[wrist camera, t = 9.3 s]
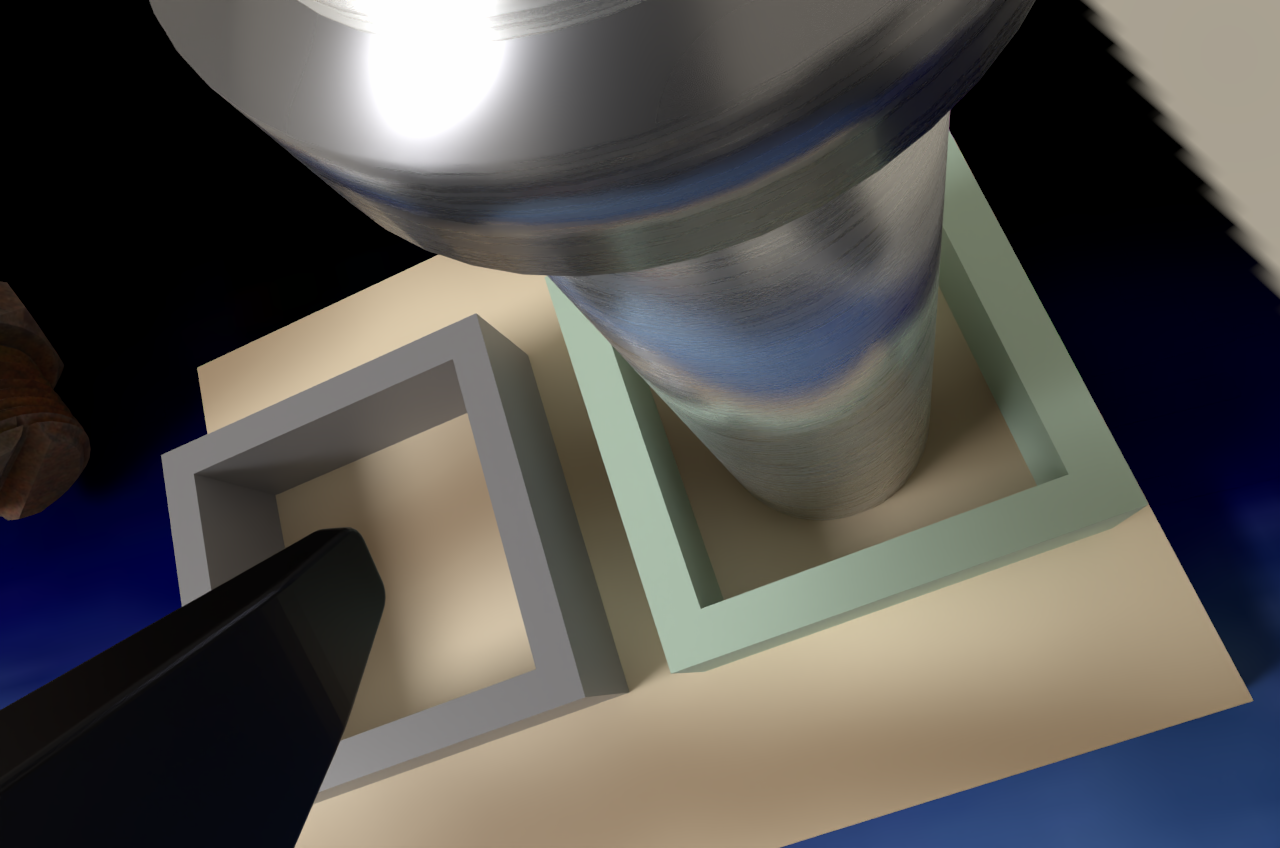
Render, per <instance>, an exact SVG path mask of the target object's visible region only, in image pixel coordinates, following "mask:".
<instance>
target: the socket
mask: <svg viewBox="0 0 1280 848" xmlns="http://www.w3.org/2000/svg"><path fill="white" fill-rule="evenodd" d="M545 280H546V284H547V287H548V290H549V293H550V296H551V299H552V302H553V305H554V309H555V312H556V315H557V318H558V321H559V324H560V327H561V331H562V334H563V337H564V340H565V343H566V346H567V349H568V352H569V356H570V359H571V362H572V365H573V368H574V371H575V374H576V378H577V381H578V384H579V387H580V390H581V393H582V396H583V399H584V403H585V406H586V409H587V412H588V415H589V418H590V421H591V425H592V428H593V431H594V434H595V437H596V440H597V443H598V446H599V450H600V453H601V456H602V459H603V462H604V465H605V468H606V472H607V475H608V478H609V481H610V484H611V487H612V490H613V493H614V497H615V500H616V503H617V506H618V509H619V512H620V515H621V519H622V522H623V525H624V528H625V531H626V534H627V537H628V540H629V544H630V547H631V550H632V553H633V556H634V559H635V562H636V566H637V569H638V572H639V575H640V578H641V581H642V584H643V588H644V591H645V594H646V597H647V600H648V603H649V606H650V609H651V613H652V616H653V619H654V622H655V625H656V628H657V631H658V635H659V638H660V641H661V644H662V647H663V650H664V653H665V656H666V660H667V663H668V666H669V669H670V672H671V674H673V673H694V672H706V671H709V670H711V669H714V668H717V667H720V666H723V665H726V664H728V663H731V662H734V661H737V660H740V659H743V658H745V657H748V656H751V655H754V654H757V653H760V652H762V651H765V650H768V649H771V648H774V647H777V646H779V645H782V644H785V643H788V642H791V641H794V640H797V639H799V638H802V637H805V636H808V635H811V634H814V633H816V632H819V631H822V630H825V629H828V628H831V627H833V626H836V625H839V624H842V623H845V622H848V621H850V620H853V619H856V618H859V617H862V616H865V615H868V614H870V613H873V612H876V611H879V610H882V609H885V608H887V607H890V606H893V605H896V604H899V603H902V602H904V601H907V600H910V599H913V598H916V597H919V596H921V595H924V594H927V593H930V592H933V591H936V590H938V589H941V588H944V587H947V586H950V585H953V584H956V583H958V582H961V581H964V580H967V579H970V578H973V577H975V576H978V575H981V574H984V573H987V572H990V571H992V570H995V569H998V568H1001V567H1004V566H1007V565H1009V564H1012V563H1015V562H1018V561H1021V560H1024V559H1026V558H1029V557H1032V556H1035V555H1038V554H1041V553H1044V552H1046V551H1049V550H1052V549H1055V548H1058V547H1061V546H1063V545H1066V544H1069V543H1072V542H1075V541H1078V540H1080V539H1083V538H1086V537H1089V536H1092V535H1095V534H1097V533H1100V532H1103V531H1106V530H1109V529H1112V528H1114V527H1115V526H1117V525H1118V524H1120V523H1121V522H1123V521H1124V520H1126V519H1127V518H1129V517H1130V516H1132V515H1133V514H1135V513H1136V512H1138V511H1139V510H1141V509H1142V508H1144V507H1145V506H1147V505H1148V502H1147V500H1146V498H1145V496H1144V494H1143V492H1142V491H1141V489H1140V487H1139V485H1138V483H1137V481H1136V479H1135V477H1134V476H1133V474H1132V472H1131V470H1130V468H1129V466H1128V464H1127V462H1126V461H1125V459H1124V457H1123V455H1122V453H1121V451H1120V449H1119V447H1118V446H1117V444H1116V442H1115V440H1114V438H1113V436H1112V434H1111V432H1110V431H1109V429H1108V427H1107V425H1106V423H1105V421H1104V419H1103V418H1102V416H1101V414H1100V412H1099V410H1098V408H1097V406H1096V404H1095V403H1094V401H1093V399H1092V397H1091V395H1090V393H1089V391H1088V389H1087V388H1086V386H1085V384H1084V382H1083V380H1082V378H1081V376H1080V374H1079V373H1078V371H1077V369H1076V367H1075V365H1074V363H1073V361H1072V359H1071V358H1070V356H1069V354H1068V352H1067V350H1066V348H1065V346H1064V344H1063V343H1062V341H1061V339H1060V337H1059V335H1058V333H1057V331H1056V329H1055V328H1054V326H1053V324H1052V322H1051V320H1050V318H1049V316H1048V314H1047V313H1046V311H1045V309H1044V307H1043V305H1042V303H1041V301H1040V300H1039V298H1038V296H1037V294H1036V292H1035V290H1034V288H1033V286H1032V285H1031V283H1030V281H1029V279H1028V277H1027V275H1026V273H1025V271H1024V270H1023V268H1022V266H1021V264H1020V262H1019V260H1018V258H1017V256H1016V255H1015V253H1014V251H1013V249H1012V247H1011V245H1010V243H1009V241H1008V240H1007V238H1006V236H1005V234H1004V232H1003V230H1002V228H1001V226H1000V225H999V223H998V221H997V219H996V217H995V215H994V213H993V211H992V210H991V208H990V206H989V204H988V202H987V200H986V198H985V196H984V195H983V193H982V191H981V189H980V187H979V185H978V183H977V182H976V180H975V178H974V176H973V174H972V172H971V170H970V168H969V167H968V165H967V163H966V161H965V159H964V157H963V155H962V153H961V152H960V150H959V148H958V146H957V144H956V142H955V140H954V138H953V137H952V135H951V133H950V131H949V136H948V151H947V166H946V181H945V196H944V211H943V226H942V241H941V256H940V271H939V287H940V289H941V291H942V293H943V295H944V297H945V300H946V302H947V304H948V306H949V308H950V310H951V312H952V314H953V316H954V318H955V320H956V322H957V324H958V326H959V328H960V330H961V332H962V334H963V336H964V338H965V340H966V342H967V344H968V346H969V348H970V350H971V352H972V354H973V356H974V358H975V360H976V362H977V364H978V367H979V369H980V371H981V373H982V375H983V377H984V379H985V381H986V383H987V385H988V387H989V389H990V391H991V393H992V395H993V397H994V399H995V401H996V403H997V405H998V407H999V409H1000V411H1001V413H1002V415H1003V417H1004V419H1005V421H1006V423H1007V425H1008V427H1009V429H1010V431H1011V434H1012V436H1013V438H1014V440H1015V442H1016V444H1017V446H1018V448H1019V450H1020V452H1021V454H1022V456H1023V458H1024V460H1025V462H1026V464H1027V466H1028V468H1029V470H1030V472H1031V474H1032V476H1033V478H1034V480H1035V482H1036V484H1037V486H1035V487H1032V488H1030V489H1027V490H1024V491H1021V492H1019V493H1016V494H1013V495H1011V496H1008V497H1005V498H1002V499H1000V500H997V501H994V502H991V503H989V504H986V505H983V506H980V507H978V508H975V509H972V510H970V511H967V512H964V513H961V514H959V515H956V516H953V517H950V518H948V519H945V520H942V521H939V522H937V523H934V524H931V525H929V526H926V527H923V528H920V529H918V530H915V531H912V532H909V533H907V534H904V535H901V536H898V537H896V538H893V539H890V540H888V541H885V542H882V543H879V544H877V545H874V546H871V547H868V548H866V549H863V550H860V551H858V552H855V553H852V554H849V555H847V556H844V557H841V558H838V559H836V560H833V561H830V562H827V563H825V564H822V565H819V566H817V567H814V568H811V569H808V570H806V571H803V572H800V573H797V574H795V575H792V576H789V577H786V578H784V579H781V580H778V581H776V582H773V583H770V584H767V585H765V586H762V587H759V588H756V589H754V590H751V591H748V592H745V593H743V594H740V595H737V596H735V597H732V598H729V599H726V600H724V599H723V596H722V593H721V590H720V587H719V585H718V582H717V579H716V576H715V573H714V570H713V567H712V565H711V562H710V559H709V556H708V553H707V550H706V547H705V544H704V542H703V539H702V536H701V533H700V530H699V527H698V524H697V522H696V519H695V516H694V513H693V510H692V507H691V504H690V501H689V499H688V496H687V493H686V490H685V487H684V484H683V481H682V479H681V476H680V473H679V470H678V467H677V464H676V461H675V458H674V456H673V453H672V450H671V447H670V444H669V441H668V438H667V436H666V433H665V430H664V427H663V424H662V421H661V418H660V415H659V413H658V410H657V407H656V404H655V401H654V398H653V395H652V393H651V390H650V387H649V385H648V383H647V382H646V381H645V380H644V379H643V378H642V377H641V376H640V375H639V374H638V373H637V372H636V371H635V370H634V368H633V367H632V366H631V365H630V364H629V363H628V362H627V361H626V360H625V359H624V358H623V357H622V356H621V354H620V353H619V352H618V351H617V350H616V349H615V348H614V347H613V346H612V345H611V344H610V343H609V342H608V341H607V339H606V338H605V337H604V336H603V335H602V334H601V333H600V332H599V331H598V330H597V329H596V328H595V327H594V325H593V324H592V323H591V322H590V321H589V320H588V319H587V318H586V317H585V316H584V315H583V314H582V313H581V312H580V310H579V309H578V308H577V307H576V306H575V305H574V304H573V303H572V302H571V301H570V300H569V299H568V298H567V297H566V295H565V294H564V293H563V292H562V291H561V290H560V289H559V288H558V287H557V286H556V285H555V284H554V283H553V281H552V280H551V279H550V278H549V277H548V276H546V277H545Z"/></svg>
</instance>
